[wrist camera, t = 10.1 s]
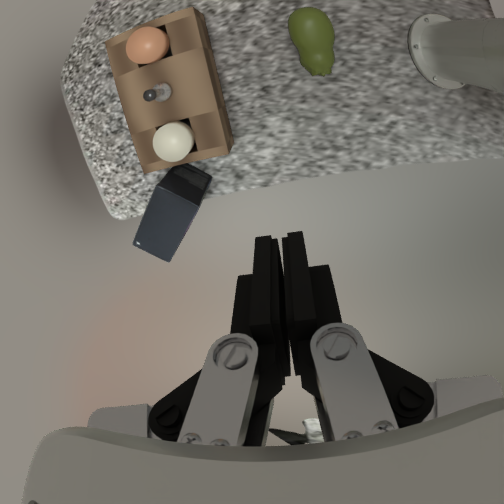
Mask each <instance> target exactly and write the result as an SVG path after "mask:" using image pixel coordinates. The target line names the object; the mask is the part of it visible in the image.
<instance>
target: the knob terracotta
mask: <svg viewBox="0 0 504 504" xmlns="http://www.w3.org/2000/svg"><path fill="white" fill-rule="evenodd" d="M126 53H127V56H128V57H129V59H130V60H131V61H133V62H135V63H138V64H151V63H155V62H157V61H159V60H162V59H165V58H167V57H170V56H173V55H172V51H171V47H170V43H169V38H168V35H167V34H166V33H165V32H164V31H163V30H160V29H157V28H154V27H142V28H140V29H138V30H136V31H135V32H133V33H132V34H131V36H130V37H129V39H128V41H127V44H126Z"/></svg>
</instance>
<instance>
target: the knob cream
mask: <svg viewBox="0 0 504 504" xmlns="http://www.w3.org/2000/svg"><path fill="white" fill-rule="evenodd" d="M194 141H195V138H194V133H193V131H192V127H191V124H190V120H189V118H185V119H182V120H180V121H172V122H169V123H167V124H165V125H164V126H162V127H161V128H159V129H158V130H157V131H156V133H155V135H154V137H153V148H154V151H155V152H156V154H157V155H158V156H159V157H160V158H161V159H163V160H165V161H168V162H176V161H179V160H181V159H183V158H184V157H185V156H186V155H187V154H188V153H189V152H190V151H191V149H192V148H193V145H194Z"/></svg>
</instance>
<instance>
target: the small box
mask: <svg viewBox="0 0 504 504" xmlns="http://www.w3.org/2000/svg"><path fill="white" fill-rule="evenodd" d="M211 179H212V176H210V175H208V174H207V173H205V172H203V171H201V170H199V169H197V168H196V167H194V166H192V165H190V164H188V163H185V164H181V165H177V166H173V167H172V168H171V169H170V170H169V171H168V173H167V174H166V175H165V176H164V178H163V179H162V180H161V181H160V182H159V183H158V184H157V185H156V187H155V189H154V191H153V194H152V196H151V198H150V201H149V203H148V205H147V208H146V210H145V212H144V215H143V217H142V220H141V223H140V225H139V228H138V230H137V233H136V235H135V238H134V241H133V245H134V246H136V247H138V248H140V249H142V250H144V251H146V252H148V253H150V254H152V255H154V256H156V257H158V258H160V259H162V260H164V261H166V262H170V261H171V259H172V257H173V255H174V253H175V252H176V250H177V248H178V246H179V245H180V243H181V241H182V239H183V237H184V236H185V234H186V232H187V231H188V229H189V227H190V225H191V223H192V221H193V219H194V217H195V216H196V214H197V212H198V210H199V208H200V205H201V203H202V201H203V199H204V196H205V194H206V192H207V189H208V187H209V184H210V182H211Z"/></svg>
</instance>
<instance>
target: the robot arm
mask: <svg viewBox="0 0 504 504" xmlns="http://www.w3.org/2000/svg"><path fill="white" fill-rule="evenodd" d="M424 20H425V21H424ZM408 43H409V50H410V53H411V57H412V59H413V61H414V63H415V65H416V67H417V68H418V70H419V71H420V72H421V74H422V75H423V76H424V77H425V78H426V79H427V80H428V81H430V82H431V83H433V84H434V85H436V86H438V87H441V88H444V89H451V90H453V89H459V88H461V87H463V86H464V85H466V84H469V85H473V86H477V87H481V88H485V89H488V90H492V91H495V92H499V93H502V94H504V18H486V19H466V20H454V21H452V20H451V19H449V18H447V17H445V16H442V15H439V14H426V15H423V16H421V17H419V18H417V19H416V20H415V21H414V22H413V24H412V26H411V28H410V31H409V37H408ZM414 47H415V48H414ZM287 234H288V237H284V238H282V248H283V264H284V274H283V268H282V262H281V256H280V250H279V245H278V240H277V239H272V238H271V235H269V236H261V237H256V238H255V250H254V263H253V274H248V275H240V276H238V279H237V286H236V293H235V301H234V308H233V316H232V325H231V332H230V334H228V335H225V336H223V337H221V338H220V339H218V340H216V341H215V343H214V344H213V345H212V346H211V348H210V349H209V351H208V354H207V357H206V360H205V363H204V365H203V368H202V369H201V370H200V371H199V372H197V373H196V374H195V375H193V376H192V377H191V378H189V379H188V380H187V381H185V382H184V383H183V384H181V385H180V386H179V387H177V388H176V389H174V390H173V391H172V392H170V393H169V394H168V395H166V396H165V397H164V398H162V399H161V400H159V401H158V402H157V403H156V404H155V405H154V406H149V405H148V404H140V405H131V406H120V407H107V408H100V409H97V410H96V411H95V412H93V413H92V415H91V416H90V418H89V421H88V427H68V428H63V429H59V430H56V431H53V432H51V433H49V434H47V435H46V436H45V437H44V438H43V439H42V440H41V442H40V443H39V445H38V447H37V449H36V451H35V453H34V456H33V459H32V461H31V465H30V468H29V471H28V475H27V479H26V483H25V487H24V492H23V498H22V504H504V398H503V393H502V388H501V385H500V383H499V382H498V380H497V379H495V378H494V377H492V376H489V375H482V376H473V377H463V378H451V379H436V381H435V382H426V381H424V380H423V379H421V378H419V377H418V376H416V375H414V374H412V373H410V372H408V371H407V370H405V369H403V368H401V367H399V366H397V365H395V364H394V363H392V362H390V361H388V360H386V359H384V358H383V357H381V356H379V355H377V354H375V353H373V352H372V351H370V350H368V349H367V347H366V345H365V343H364V340H363V338H362V336H361V334H360V333H359V331H358V330H357V329H355V328H354V327H353V326H351V325H348V324H345V323H342V320H341V315H340V310H339V306H338V302H337V297H336V293H335V288H334V284H333V280H332V275H331V272H330V268H329V265H321V266H313V267H308V261H307V255H306V249H305V244H304V238H303V233H302V231H298V232H291V233H287ZM289 340H290V342H289ZM290 346H291V352H292V358H293V364H294V370H295V375H296V376H297V375H301V382H302V388H303V389H305V390H306V391H308V392H309V393H310V394H312V395H313V396H314V402H315V406H316V410H317V414H318V418H319V422H320V426H321V430H322V434H323V439H324V442H323V443H314V444H303V445H289V446H265V445H266V440H267V436H268V431H269V425H270V420H271V415H272V410H273V405H274V397H275V396H276V395H277V394H278V393H279V392H280V391H281V390H282V385H285V377H287V376H291V369H290Z"/></svg>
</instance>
